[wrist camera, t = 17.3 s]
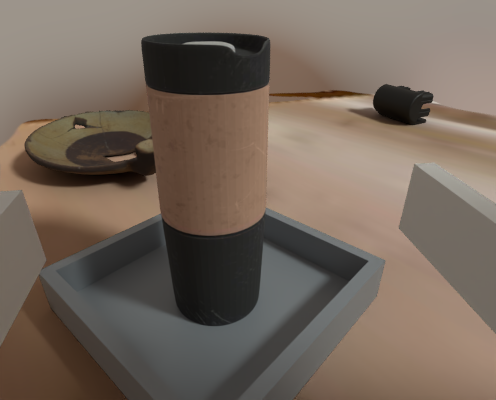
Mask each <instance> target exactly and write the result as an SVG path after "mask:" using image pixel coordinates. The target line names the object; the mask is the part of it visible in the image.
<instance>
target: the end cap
mask: <svg viewBox="0 0 496 400" xmlns="http://www.w3.org/2000/svg"><path fill="white" fill-rule="evenodd" d="M432 101H433V94H431V93H429V92H424V91H417V92H416V91H412V90H410V88H408V87H404V86H398V87H395V86H391V85H387V84H385V85H383V86H381V87H380V88H379V89H378V90H377V92H376V93H375V96H374V99H373V106H374V108H375V110H376V111H377V112H378V113H379V114H381V115H384V116H387V117H390V118H393V119H396V120H399V121H402V122H405V123H408V124H411V125H416V124H421V123H425V122H426V119H423V118H420V117H425V116H428V115H429V112H430V108H427V109H421V107H422V105H423V104H426V103H432Z"/></svg>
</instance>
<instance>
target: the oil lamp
mask: <svg viewBox="0 0 496 400" xmlns="http://www.w3.org/2000/svg"><path fill="white" fill-rule="evenodd" d="M75 125H79V126H80V125H82V126H84V127H85V128H81V129H75ZM25 150H26V152H27V154H28V155H29V156H30V158H31V159H32V160H33V161H34V162H35V163H37V164H39V165H41V166H44V167H46V168H49V169H53V170H57V171H63V172H69V173H77V174H89V175H98V174H115V173H123V172H129V171H134V172H137V173H139V174H141V175H145V176H147V175H152V174H154V173H156V167H155V158H154V150H153V141H152V132H151V124H150V115H149V113H148V112H144V111H133V110H126V111H99V112H85V113H81V114H77V115H70V116H64V117H62V118H61V119H59V120H55V121H54V122H51V123H48V124H46V125H44V126H42V127H40V128H39V129H37V130H35V131H34V132H33V133H32V134H30V136H29V137H28V138H27V139H26V142H25ZM132 152H136V154H137V157H136V158H133V159H130V160H124V161H119V162H113V161H111V160H109V159H107V158H105V156H113V155H124V154H128V153H132Z"/></svg>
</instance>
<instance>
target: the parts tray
mask: <svg viewBox="0 0 496 400" xmlns="http://www.w3.org/2000/svg"><path fill="white" fill-rule="evenodd" d="M265 210H266V212H265V226H264V239H263V252H262V266H261V279H260V290H259V298H258V301H257V304H256V306H255V307H254V309H253V310H252V311H251V312H250V313H249V314H248V315H247V316H246V317H244V318H243V319H241V320H239V321H237V322H235V323H232V324H228V325H223V326H206V325H201V324H198V323H195V322H193V321H191V320H189V319H188V318H186V317H185V316H184V315H183V314H182V313H181V312H180V310H179V308H178V307H177V304H176V300H175V295H174V290H173V284H172V278H171V272H170V266H169V260H168V253H167V247H166V241H165V235H164V229H163V223H162V217H161V214H159V215H157V216H155V217H152V218H150V219H148V220H146V221H144V222H142V223H140V224H137V225H135V226H133V227H131V228H129V229H127V230H125V231H122V232H120V233H118V234H116V235H114V236H112V237H110V238H108V239H105V240H103V241H101V242H99V243H97V244H95V245H93V246H90V247H88V248H86V249H84V250H82V251H80V252H78V253H75V254H73V255H71V256H69V257H67V258H65V259H63V260H60V261H58V262H56V263H54V264H52V265H50V266H48V267H45V268H43V269H42V270H41V271H40V273H39V277H40V280H41V283H42V286H43V288H44V291H45V294H46V297H47V299H48V302H49V305H50V308H51V309H52V310H53V311H54V312H55V314H56V315H57V316H58V317H59V318H60V320H61V321H62V322H63V323H64V324H65V325H66V327H67V328H68V329H69V330H70V331H71V333H72V334H73V335H74V336H75V337H76V338H77V340H78V341H79V342H80V343H81V344H82V346H83V347H84V348H85V349H86V350H87V351H88V353H89V354H90V355H91V356H92V357H93V359H94V360H95V361H96V362H97V363H98V364H99V366H100V367H101V368H102V369H103V370H104V372H105V373H106V374H107V375H108V376H109V377H110V379H111V380H112V381H113V382H114V383H115V385H116V386H117V387H118V388H119V389H120V390H121V392H122V393H123V394H124V395H125V396H126V398H127V399H128V400H293V399H294V398H295V396H296V395H297V394H298V393H299V391H300V390H301V389H302V388H303V386H304V385H305V384H306V383H307V382H308V380H309V379H310V378H311V377H312V375H313V374H314V373H315V372H316V370H317V369H318V368H319V367H320V366H321V364H322V363H323V362H324V361H325V359H326V358H327V357H328V356H329V354H330V353H331V352H332V351H333V349H334V348H335V347H336V346H337V345H338V343H339V342H340V341H341V340H342V338H343V337H344V336H345V335H346V333H347V332H348V331H349V330H350V328H351V327H352V326H353V325H354V324H355V322H356V321H357V320H358V319H359V317H360V316H361V315H362V314H363V312H364V311H365V310H366V309H367V307H368V306H369V305H370V304H371V303H372V301H373V300H374V299H375V298H376V296H377V293H378V289H379V285H380V281H381V277H382V273H383V269H384V265H385V260H383V259H381V258H379V257H376V256H374V255H372V254H370V253H367V252H365V251H363V250H361V249H358V248H356V247H354V246H352V245H349V244H347V243H345V242H343V241H340V240H338V239H336V238H334V237H331V236H329V235H327V234H324V233H322V232H320V231H318V230H315V229H313V228H311V227H309V226H306V225H304V224H302V223H300V222H297V221H295V220H293V219H291V218H288V217H286V216H284V215H282V214H279V213H277V212H275V211H273V210H270V209H268V208H266V209H265Z"/></svg>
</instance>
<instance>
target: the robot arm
mask: <svg viewBox="0 0 496 400" xmlns="http://www.w3.org/2000/svg"><path fill="white" fill-rule="evenodd" d="M399 229H400V230H401V231H402V232H403V233H404V234H405V236H406V237H407V238H408V239H409V240H410V241H411V242H412V243H413V244H414V245H415V246H416V248H417V249H418V250H419V251H420V252H421V253H422V254H423V255H424V256H425V257H426V258H427V260H428V261H429V262H430V263H431V264H432V265H433V266H434V267H435V268H436V269H437V270H438V271H439V273H440V274H441V275H442V276H443V277H444V278H445V279H446V280H447V281H448V282H449V283H450V285H451V286H452V287H453V288H454V289H455V290H456V291H457V292H458V293H459V294H460V295H461V297H462V298H463V299H464V300H465V301H466V302H467V303H468V304H469V305H470V306H471V307H472V308H473V310H474V311H475V312H476V313H477V314H478V315H479V316H480V317H481V318H482V319H483V320H484V322H485V323H486V324H487V325H488V326H489V327H490V328H491V329H492V330H493V331H494V332H495V334H496V204H495V203H494V202H492V201H491V200H489V199H488V198H486V197H485V196H483V195H482V194H480V193H479V192H477V191H476V190H474V189H473V188H471V187H470V186H468V185H467V184H465V183H464V182H462V181H461V180H459V179H458V178H456V177H455V176H453V175H452V174H450V173H449V172H447V171H446V170H444V169H443V168H441V167H440V166H438V165H437V164H435V163H421V164H414V168H413V172H412V176H411V180H410V184H409V188H408V192H407V196H406V200H405V205H404V209H403V213H402V217H401V221H400V225H399ZM45 262H46V257H45V254H44V251H43V248H42V245H41V243H40V240H39V237H38V234H37V231H36V228H35V226H34V223H33V220H32V217H31V214H30V211H29V209H28V206H27V203H26V200H25V197H24V194H23V192H22V190H16V191H1V192H0V346H1V345H2V343H3V341H4V339H5V337H6V335H7V333H8V331H9V330H10V328H11V326H12V324H13V322H14V320H15V318H16V316H17V315H18V313H19V311H20V309H21V307H22V305H23V303H24V301H25V300H26V298H27V296H28V294H29V292H30V290H31V288H32V286H33V285H34V283H35V281H36V279H37V277H38V275H39V273H40V271H41V270H42V268H43V266H44V264H45Z"/></svg>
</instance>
